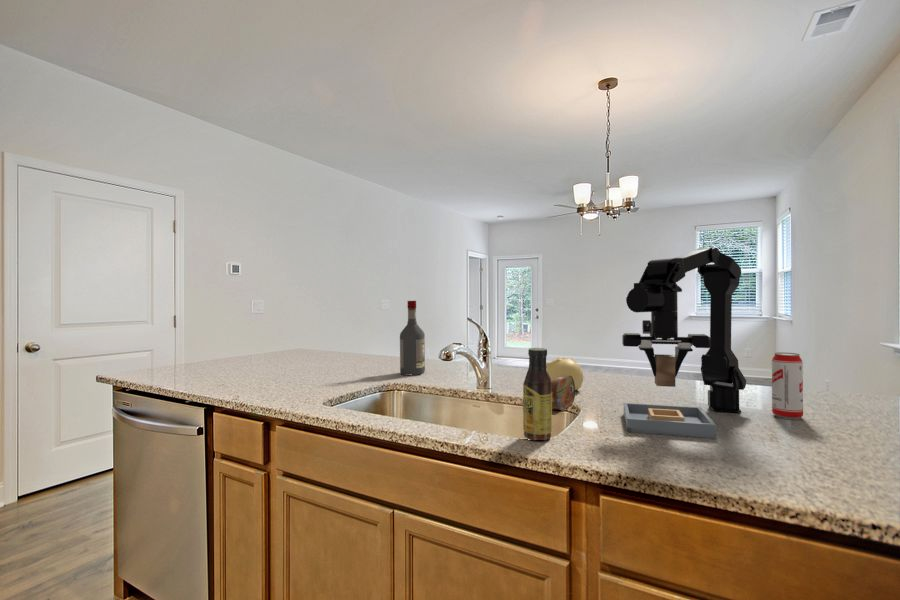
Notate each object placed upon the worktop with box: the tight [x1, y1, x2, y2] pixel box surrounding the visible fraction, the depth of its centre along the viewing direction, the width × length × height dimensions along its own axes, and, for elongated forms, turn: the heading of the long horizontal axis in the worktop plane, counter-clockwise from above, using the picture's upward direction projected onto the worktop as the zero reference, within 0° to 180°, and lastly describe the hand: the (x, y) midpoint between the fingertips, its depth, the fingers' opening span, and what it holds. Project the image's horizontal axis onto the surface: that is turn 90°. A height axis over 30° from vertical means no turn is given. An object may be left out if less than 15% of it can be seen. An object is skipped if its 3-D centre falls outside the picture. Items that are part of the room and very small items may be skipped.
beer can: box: [771, 351, 804, 421], centre depth 113 cm, size 6×6×16 cm
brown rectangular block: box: [654, 353, 676, 388], centre depth 107 cm, size 4×4×7 cm
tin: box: [551, 375, 576, 411], centre depth 127 cm, size 15×3×8 cm, turn 146°
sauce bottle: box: [522, 347, 553, 441], centre depth 99 cm, size 7×6×20 cm
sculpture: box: [546, 357, 584, 391], centre depth 149 cm, size 12×12×11 cm
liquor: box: [399, 300, 426, 376], centre depth 184 cm, size 9×9×30 cm
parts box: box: [623, 402, 718, 440], centre depth 107 cm, size 18×16×3 cm
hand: (664, 376), depth 107 cm, fingers closed on brown rectangular block, 4 cm apart
